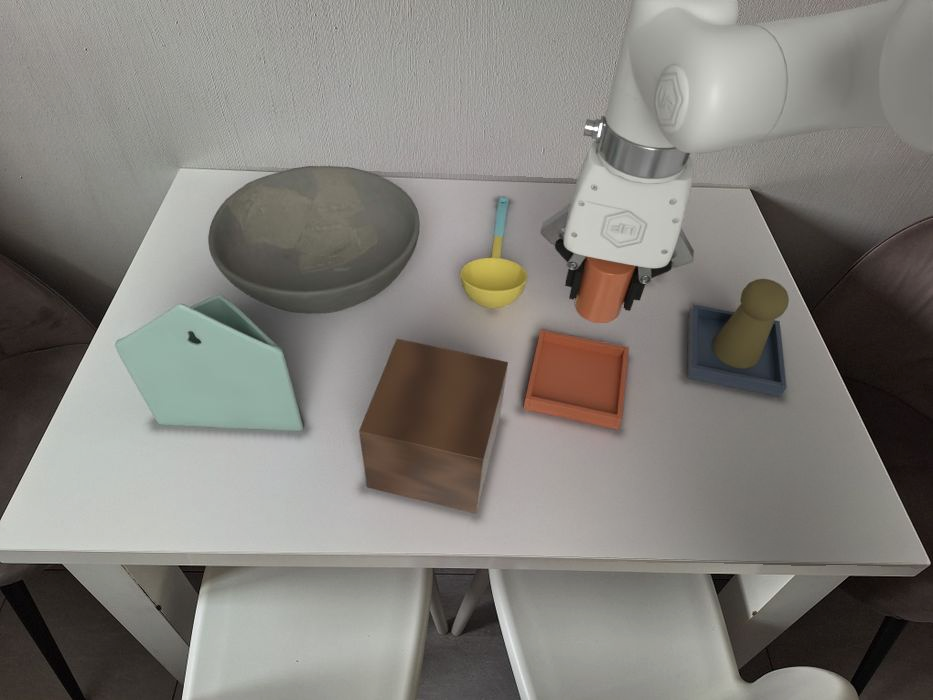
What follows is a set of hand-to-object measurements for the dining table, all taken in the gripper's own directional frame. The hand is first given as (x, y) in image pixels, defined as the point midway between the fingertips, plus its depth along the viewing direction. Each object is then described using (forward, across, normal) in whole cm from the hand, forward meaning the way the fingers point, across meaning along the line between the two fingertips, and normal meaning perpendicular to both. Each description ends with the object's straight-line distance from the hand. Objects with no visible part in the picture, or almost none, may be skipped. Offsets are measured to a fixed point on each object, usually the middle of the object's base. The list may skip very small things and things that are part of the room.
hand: (600, 294), depth 68 cm
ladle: (+16, -14, +20) cm, 29 cm away
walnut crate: (+15, -14, -14) cm, 25 cm away
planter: (+15, -38, -13) cm, 43 cm away
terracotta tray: (+15, 0, 0) cm, 15 cm away
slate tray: (+15, +19, +10) cm, 26 cm away
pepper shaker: (+15, +19, +10) cm, 26 cm away
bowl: (+16, -36, +9) cm, 40 cm away
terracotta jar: (+2, 0, 0) cm, 2 cm away
